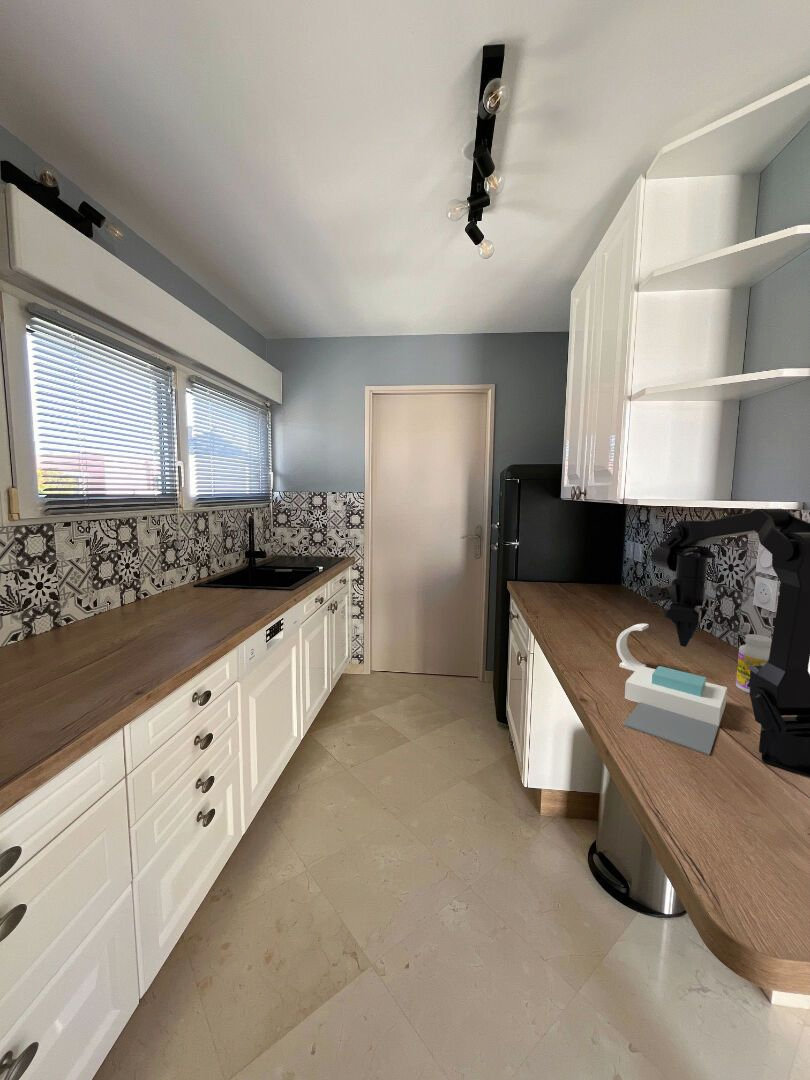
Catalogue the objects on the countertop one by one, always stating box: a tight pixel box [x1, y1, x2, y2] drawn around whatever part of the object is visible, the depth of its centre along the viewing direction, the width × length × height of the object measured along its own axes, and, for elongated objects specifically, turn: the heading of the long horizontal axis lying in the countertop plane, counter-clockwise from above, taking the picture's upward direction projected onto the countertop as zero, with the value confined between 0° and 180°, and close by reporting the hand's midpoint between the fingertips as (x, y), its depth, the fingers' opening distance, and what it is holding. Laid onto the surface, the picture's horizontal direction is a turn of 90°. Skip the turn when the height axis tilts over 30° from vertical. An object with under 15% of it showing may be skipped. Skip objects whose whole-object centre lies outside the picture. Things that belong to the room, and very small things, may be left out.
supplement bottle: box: [735, 633, 772, 694], centre depth 96 cm, size 7×7×13 cm
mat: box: [622, 702, 720, 756], centre depth 81 cm, size 14×12×1 cm
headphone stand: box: [615, 623, 650, 672], centre depth 109 cm, size 5×6×12 cm
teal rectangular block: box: [652, 665, 707, 697], centre depth 90 cm, size 9×6×2 cm, turn 47°
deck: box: [624, 666, 728, 727], centre depth 91 cm, size 17×12×4 cm
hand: (686, 641), depth 94 cm, fingers open, 7 cm apart
